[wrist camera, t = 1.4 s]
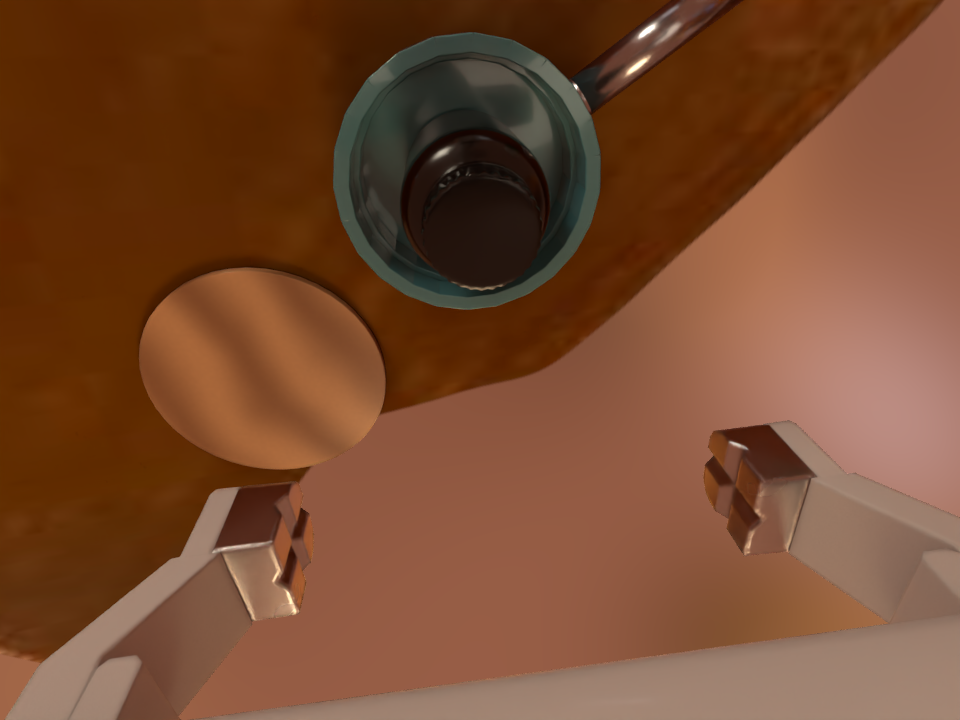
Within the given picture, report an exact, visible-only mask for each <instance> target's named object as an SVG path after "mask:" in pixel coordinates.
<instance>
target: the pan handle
mask: <svg viewBox="0 0 960 720" xmlns="http://www.w3.org/2000/svg"><path fill="white" fill-rule="evenodd" d="M742 1H743V0H671V1H669V2H668V3H667V4H666V5H664V6H663V7H662V8H660V9H659V10H658V11H657V12H655V13H654V14H653V15H651V16H650V17H649V18H648V19H646V20H645V21H644V22H642V23H641V24H640V25H639V26H637V27H636V28H635V29H633V30H632V31H631V32H629V33H628V34H627V35H626V36H624V37H623V38H622V39H620V40H619V41H618V42H617V43H615V44H614V45H613V46H611V47H610V48H609V49H608V50H606V51H605V52H604V53H602V54H601V55H600V56H599V57H597V58H596V59H595V60H593V61H592V62H591V63H590V64H588V65H587V66H586V67H584V68H583V69H582V70H581V71H579V72H578V73H577V74H575V75H574V76H573V77H572V78H570V79H569V81H570V82H571V83H572V84H573V85H574V86H575V88H576V90H577V91H578V93H579V95H580V97H581V99H582V100H583V102H584V104H585V106H586V108H587V110H588V111H589V113H590V115H591V114H593V113H594V112H595V111H597V110H598V109H599V108H601V107H602V106H603V105H605V104H606V103H607V102H609V101H610V100H611V99H613V98H614V97H615V96H617V95H618V94H619V93H621V92H622V91H623V90H625V89H626V88H627V87H629V86H630V85H631V84H633V83H634V82H635V81H637V80H638V79H639V78H641V77H642V76H643V75H645V74H646V73H647V72H649V71H650V70H651V69H653V68H654V67H655V66H657V65H658V64H659V63H661V62H662V61H663V60H665V59H666V58H667V57H669V56H670V55H671V54H673V53H674V52H675V51H677V50H678V49H679V48H681V47H682V46H683V45H685V44H686V43H687V42H689V41H690V40H691V39H693V38H694V37H695V36H697V35H698V34H699V33H701V32H702V31H703V30H705V29H706V28H707V27H709V26H710V25H711V24H713V23H714V22H715V21H717V20H718V19H719V18H721V17H722V16H723V15H725V14H726V13H727V12H729V11H730V10H731V9H733V8H734V7H735V6H737V5H738V4H739V3H741V2H742Z"/></svg>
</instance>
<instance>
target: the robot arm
mask: <svg viewBox="0 0 960 720" xmlns="http://www.w3.org/2000/svg"><path fill="white" fill-rule="evenodd" d="M708 448H709V449H710V450H711V452H712V453H713V455H714V456H713V457H712V458H711V459H710V460H709V461H708V462H707V463H706V465H705V470H704V484H705V490H706V494H707V496H708V499H709V501H710V503H711V505H712V506H713V508H714V509H715V511H716V512H718V513H720V514H721V515H723V516H725V517H726V518H728V524H727V530H728V531H729V533H730V535H731V536H732V537H733V539H734V540H735V542H736V544H737V545H738V547H739V549H740V550H741V552H742V553H743V555H744V556H747V555H757V554H767V553H777V552H786V551H789V554H790V555H791V556H793V557H794V558H796V559H797V560H799V561H800V562H802V563H803V564H804V565H806V566H807V567H809V568H810V569H812V570H813V571H814V572H816V573H817V574H819V575H820V576H822V577H823V578H824V579H826V580H827V581H829V582H830V583H832V584H833V585H835V586H836V587H837V588H839V589H840V590H842V591H843V592H845V593H846V594H847V595H849V596H851V597H852V598H853V599H855V600H856V601H858V602H859V603H861V604H862V605H863V606H865V607H866V608H868V609H869V610H870V611H872V612H874V613H875V614H876V615H878V616H879V617H881V618H882V619H884V620H885V621H886V622H888V623H889V624H884V625H876V626H869V627H862V628H854V629H847V630H840V631H833V632H825V633H818V634H811V635H803V636H796V637H789V638H781V639H774V640H767V641H760V642H753V643H745V644H738V645H731V646H725V647H716V648H709V649H702V650H695V651H688V652H681V653H673V654H666V655H658V656H651V657H644V658H638V659H630V660H622V661H615V662H608V663H600V664H593V665H586V666H578V667H571V668H564V669H556V670H549V671H542V672H534V673H527V674H520V675H513V676H505V677H498V678H490V679H483V680H476V681H468V682H462V683H454V684H447V685H440V686H432V687H425V688H417V689H410V690H403V691H396V692H388V693H381V694H374V695H366V696H359V697H352V698H345V699H337V700H330V701H323V702H316V703H308V704H301V705H294V706H287V707H279V708H272V709H265V710H257V711H250V712H243V713H235V714H228V715H221V716H213V717H207V718H200V719H192V720H960V517H958V516H955V515H953V514H951V513H948V512H946V511H944V510H941V509H939V508H936V507H934V506H932V505H929V504H927V503H925V502H922V501H920V500H917V499H915V498H913V497H910V496H908V495H906V494H903V493H901V492H899V491H896V490H894V489H892V488H889V487H887V486H885V485H882V484H880V483H878V482H875V481H873V480H870V479H868V478H866V477H863V476H861V475H859V474H856V473H852V474H847V473H846V472H845V471H844V470H843V469H842V468H841V467H840V466H839V465H838V464H837V463H836V462H835V461H833V460H832V458H831V457H829V455H827V454H826V453H825V452H824V451H823V450H822V449H821V448H820V447H819V446H818V445H817V444H816V443H815V442H814V441H813V440H812V439H811V438H810V437H809V436H808V435H807V434H806V433H805V432H804V431H803V430H802V429H801V428H800V427H799V426H798V425H797V424H796V423H794V422H792V421H782V422H774V423H767V424H763V425H756V426H748V427H740V428H733V429H725V430H717V431H714V432H713V433H712V435H711V436H710V440H709V445H708ZM302 500H303V494H302V491H301V488H300V486H299V483H297V482H295V481H292V482H281V483H271V484H261V485H251V486H243V487H235V488H225V489H216V490H215V491H214V492H213V493H211V494H210V496H209V498H208V500H207V502H206V504H205V506H204V508H203V510H202V512H201V515H200V517H199V519H198V521H197V523H196V525H195V527H194V529H193V531H192V533H191V535H190V537H189V539H188V541H187V543H186V546H185V548H184V550H183V552H182V554H181V556H180V557H178V558H171V559H170V560H169V561H168V562H166V563H165V564H164V565H163V566H161V567H160V568H159V569H158V570H157V571H155V572H154V573H153V574H152V575H150V576H149V577H148V578H147V579H145V580H144V581H143V582H142V583H140V584H139V585H138V586H137V587H135V588H134V589H133V590H132V591H130V592H129V593H128V594H127V595H126V596H124V597H123V598H122V599H121V600H119V601H118V602H117V603H116V604H114V605H113V606H112V607H111V608H109V609H108V610H107V611H106V612H104V613H103V614H102V615H101V616H99V617H98V618H97V619H96V620H95V621H93V622H92V623H91V624H90V625H88V626H87V627H86V628H85V629H83V630H82V631H81V632H80V633H78V634H77V635H76V636H75V637H73V638H72V639H71V640H70V641H68V642H67V643H66V644H65V645H64V646H62V647H61V648H60V649H59V650H57V651H56V652H55V653H54V654H52V655H51V656H50V657H49V658H47V659H46V660H45V661H44V662H42V663H41V664H40V665H39V666H38V667H37V669H36V671H35V672H34V674H33V676H32V677H31V679H30V680H29V682H28V683H27V685H26V687H25V688H24V690H23V691H22V693H21V694H20V696H19V698H18V699H17V701H16V703H15V704H14V706H13V707H12V709H11V710H10V712H9V714H8V715H7V717H6V719H5V720H180V718H179V717H178V716H179V715H180V714H181V713H182V711H183V710H184V709H185V708H186V706H187V705H188V704H189V703H190V701H191V700H192V699H193V698H194V696H195V695H196V694H197V693H198V691H199V690H200V689H201V688H202V686H203V685H204V684H205V683H206V681H207V680H208V679H209V678H210V676H211V675H212V674H213V673H214V671H215V670H216V669H217V668H218V666H219V665H220V664H221V663H222V661H223V660H224V659H225V658H226V656H227V655H228V654H229V653H230V651H231V650H232V649H233V648H234V646H235V645H236V644H237V643H238V641H239V640H240V639H241V638H242V636H243V635H244V634H245V633H246V631H247V630H248V629H249V628H250V626H251V625H252V622H251V621H257V620H264V619H270V618H276V617H283V616H288V615H295V614H299V613H300V608H301V604H302V600H303V595H304V591H305V586H306V580H305V577H304V574H303V570H304V569H305V568H306V567H307V566H308V565H309V564H310V563H311V558H312V553H313V538H314V537H313V535H314V534H313V527H312V522H311V518H310V515H309V513H308V512H306V511H305V510H303V509H302V508H301V504H302Z"/></svg>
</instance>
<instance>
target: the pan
mask: <svg viewBox="0 0 960 720" xmlns="http://www.w3.org/2000/svg"><path fill="white" fill-rule="evenodd" d="M465 109H467V110H476V111H481V112H484V113H487V114H489V115H491V116H493V117H495V118H497V119H498V120H500V121H501V122H502V123H503V124H505V125H506V126H507V127H508V128H509V129H510V130H511V131H512V132H513V133H514V134H515V135H516V136H517V137H518V138H519V139H520V141H521V142H522V143H523V144H524V145H525V146H526V147H527V148H528V149H529V150H530V151H531V152H532V154H533V155H534V156H535V157H536V159H537V160H538V162H539V164H540V165H541V167H542V169H543V171H544V173H545V176H546V179H547V182H548V186H549V191H550V200H551V207H550V217H549V221H548V226H547V229H546V232H545V234H544V236H543V238H542V240H541V246H540V248H539V249H538V251H537V257H536V258H535V259H534V260H533V261H532V264H531V266H530V267H529V268H527V269H526V270H525V272H524V274H523V275H521V276H519V277H517V278H516V280H515V281H514V282H511V283H508V284H506V285H505V286H504V287H497V288H495V289H493V290H490V289H486V290H483V291H480V290H478V289H475V290H469V289H468V288H466V287H459V286H458V285H457V284H455V283H450V282H449V281H448V280H447V278H445V277H442V276H441V275H440V274H439V272H438V271H436V270H435V269H433V268H432V267H430V266H429V265H428V264H426V263H425V262H424V261H423V260H422V259H421V258H420V257H419V256H418V254H417V253H416V252H415V251H414V249H413V248H412V246H411V245H410V243H409V241H408V239H407V237H406V234H405V232H404V229H403V226H402V221H401V215H400V193H401V187H402V182H403V177H404V171H405V166H406V161H407V157H408V154H409V150H410V148H411V145H412V143H413V141H414V140H415V138H416V136H417V135H418V134H419V132H420V131H421V130H422V129H423V128H424V127H425V126H426V125H427V124H428V123H429V122H430V121H432V120H433V119H435V118H436V117H438V116H440V115H442V114H445V113H447V112H451V111H455V110H465ZM334 149H335V150H334V174H333V186H334V188H333V189H334V193H335V197H336V201H337V206H338V210H339V214H340V218H341V221H342V224H343V226H344V228H345V230H346V232H347V234H348V236H349V237H350V239H351V241H352V243H353V245H354V247H355V249H356V251H357V252H358V254H359V255H360V256H361V257H362V258H363V259H364V261H365V262H366V263H367V264H368V265H369V266H370V267H371V268H372V269H373V271H374V272H375V273H376V274H377V275H378V276H379V277H380V278H381V279H383V280H384V281H386V282H387V283H389V284H390V285H392V286H393V287H395V288H396V289H398V290H399V291H401V292H402V293H404V294H405V295H408V296H410V297H412V298H415V299H418V300H421V301H423V302H426V303H429V304H432V305H434V306H438V307H447V308H456V309H465V310H470V309H478V308H485V307H493V306H498V305H501V304H504V303H506V302H509V301H512V300H514V299H517V298H519V297H522V296H525V295H526V294H529V293H530V292H532V291H533V290H535V289H536V288H538V287H539V286H541V285H542V284H543V283H545V282H546V281H548V280H549V279H551V278H552V277H553V276H554V275H555V274H556V273H557V272H558V271H559V270H560V269H561V268H562V267H563V265H564V264H565V263H566V262H567V261H568V260H569V259H570V258H571V257H572V256H573V255H574V252H576V250H577V248H578V247H579V245H580V243H581V241H582V239H583V238H584V236H585V234H586V232H587V230H588V228H589V227H590V225H591V222H592V219H593V215H594V211H595V208H596V204H597V200H598V197H599V193H600V177H601V155H600V154H601V152H600V148H599V144H598V140H597V136H596V131H595V127H594V123H593V120H592V117H591V115H590V113H589V111H588V110H587V108H586V106H585V104H584V102H583V100H582V99H581V97H580V95H579V93H578V91H577V90H576V88H575V86H574V85H573V84H572V83H571V82H570V81H569V80H568V79H567V78H566V77H565V76H564V75H563V74H562V73H561V72H560V71H559V70H558V69H557V68H556V67H555V66H554V65H553V64H552V63H551V62H550V61H549V60H548V59H546V57H544V56H542V55H540V54H538V53H536V52H535V51H533V50H531V49H529V48H527V47H525V46H523V45H522V44H520V43H518V42H516V41H514V40H511V39H507V38H502V37H496V36H491V35H486V34H481V33H476V32H464V33H455V34H446V35H437V36H433V37H429V38H427V39H425V40H422V41H420V42H418V43H416V44H413V45H411V46H409V47H407V48H404V49H402V50H401V51H399V52H398V53H396V54H395V55H394V56H393V57H392V58H391V59H389V60H388V61H387V62H386V63H385V64H384V65H382V66H381V67H380V68H379V69H378V70H377V71H376V72H374V73H373V74H372V75H371V76H370V77H369V78H368V79H367V80H366V81H365V83H364V84H363V86H362V87H361V89H360V90H359V92H358V94H357V95H356V97H355V98H354V100H353V101H352V103H351V104H350V106H349V108H348V109H347V111H346V113H345V115H344V118H343V122H342V125H341V128H340V132H339V135H338V138H337V142H336V145H335V148H334Z"/></svg>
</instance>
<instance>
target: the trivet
mask: <svg viewBox="0 0 960 720" xmlns="http://www.w3.org/2000/svg"><path fill="white" fill-rule="evenodd" d="M139 363H140V372H141V376H142V379H143V383H144V386H145V388H146V391H147V393H148V395H149V397H150V399H151V401H152V402H153V404H154V406H155V407H156V409H157V410H158V411H159V413H160V414H161V415H162V417H163V418H164V419H165V420H166V421H167V422H168V423H169V424H170V425H171V426H172V427H173V428H174V429H175V430H176V431H177V432H178V433H179V434H181V435H182V436H183V437H184V438H186V439H187V440H188V441H190V442H191V443H193V444H194V445H196V446H198V447H199V448H201V449H203V450H205V451H207V452H209V453H211V454H212V455H215V456H217V457H220V458H222V459H225V460H227V461H231V462H234V463H237V464H241V465H245V466H250V467H255V468H264V469H294V468H302V467H307V466H313V465H316V464H319V463H322V462H326V461H328V460H330V459H333V458H335V457H337V456H339V455H341V454H343V453H344V452H346V451H348V450H349V449H351V448H352V447H353V446H354V445H356V444H357V443H358V442H359V441H360V440H361V439H362V438H363V437H364V436H365V435H366V434H367V433H368V432H369V430H370V429H371V428H372V426H373V425H374V424H375V422H376V420H377V418H378V416H379V414H380V411H381V409H382V406H383V403H384V397H385V392H386V370H385V363H384V359H383V356H382V353H381V349H380V347H379V345H378V343H377V341H376V339H375V336H374V335H373V333H372V332H371V330H370V329H369V327H368V326H367V324H366V323H365V322H364V321H363V319H362V318H361V317H360V316H359V315H358V314H357V312H356V311H354V310H353V309H352V308H351V307H350V306H349V305H348V304H347V303H346V302H345V301H343V300H342V299H340V298H339V297H338V296H336V295H335V294H333V293H332V292H331V291H329V290H327V289H325V288H323V287H322V286H320V285H318V284H316V283H314V282H312V281H309V280H307V279H304V278H302V277H300V276H296V275H293V274H289V273H286V272H283V271H277V270H271V269H265V268H248V267H246V268H230V269H225V270H219V271H214V272H211V273H208V274H205V275H202V276H199V277H196V278H194V279H192V280H190V281H188V282H186V283H184V284H182V285H181V286H180V287H178V288H177V289H175V290H174V291H173V292H171V293H170V294H169V295H168V296H167V297H166V298H165V299H164V300H163V301H162V302H161V303H160V304H159V305H158V306H157V307H156V309H155V310H154V312H153V313H152V314H151V316H150V317H149V319H148V321H147V324H146V326H145V328H144V330H143V334H142V337H141V341H140V349H139Z"/></svg>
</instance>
